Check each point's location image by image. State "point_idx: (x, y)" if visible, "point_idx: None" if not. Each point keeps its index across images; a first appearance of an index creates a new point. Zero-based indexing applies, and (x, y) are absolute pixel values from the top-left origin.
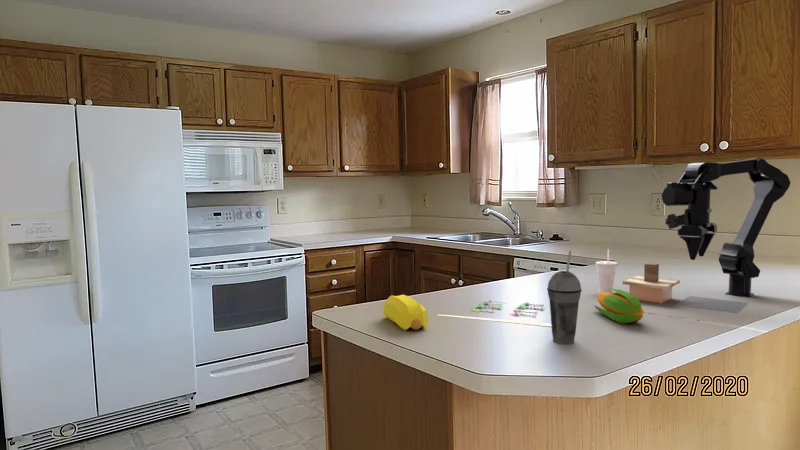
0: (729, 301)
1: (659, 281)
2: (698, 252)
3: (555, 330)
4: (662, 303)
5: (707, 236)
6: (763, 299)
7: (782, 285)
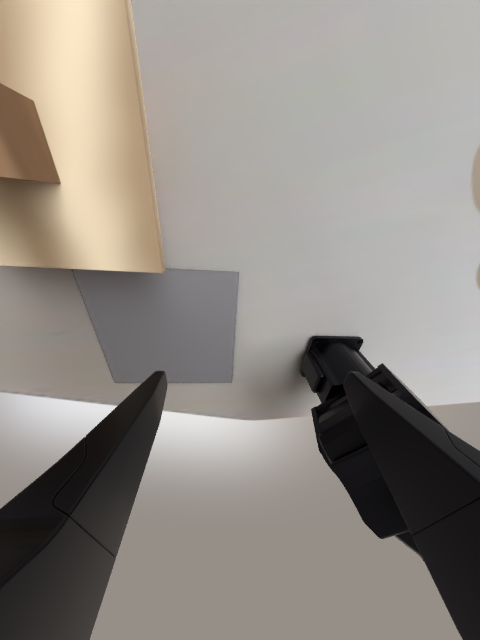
0: (224, 357)
1: (45, 195)
2: (365, 385)
3: None
4: None
5: (464, 580)
6: (304, 388)
7: (472, 391)
